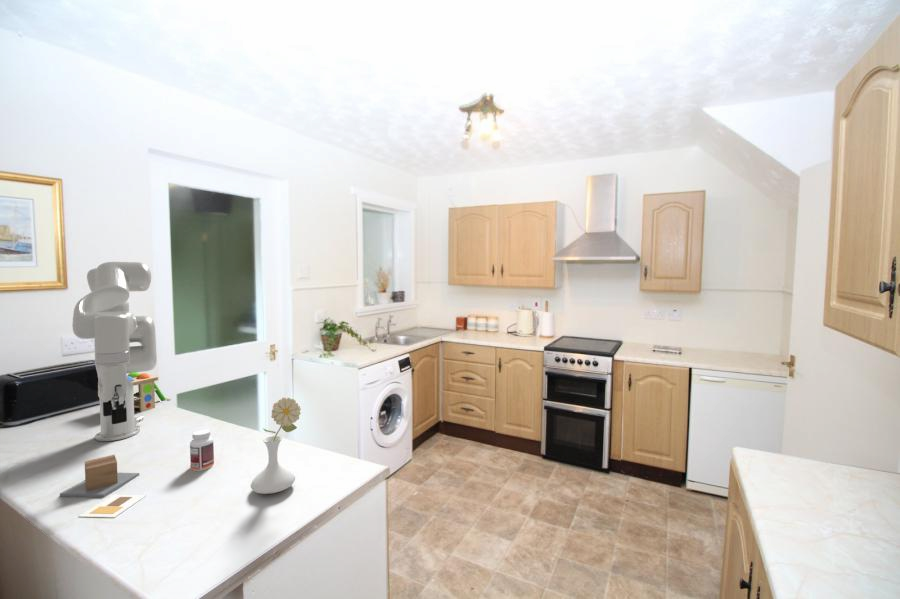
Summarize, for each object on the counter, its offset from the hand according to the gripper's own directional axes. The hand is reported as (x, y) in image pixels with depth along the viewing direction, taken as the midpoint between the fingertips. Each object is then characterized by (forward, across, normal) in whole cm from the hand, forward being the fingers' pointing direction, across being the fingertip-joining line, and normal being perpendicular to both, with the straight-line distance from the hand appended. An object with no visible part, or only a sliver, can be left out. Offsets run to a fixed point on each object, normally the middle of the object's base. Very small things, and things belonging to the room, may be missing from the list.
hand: (114, 418), depth 116 cm
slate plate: (+18, -1, -3) cm, 19 cm away
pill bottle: (+19, +8, +19) cm, 28 cm away
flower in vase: (+19, +36, +28) cm, 50 cm away
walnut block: (+18, -2, -3) cm, 18 cm away
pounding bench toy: (+19, -68, +22) cm, 74 cm away
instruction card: (+18, +14, -4) cm, 24 cm away
